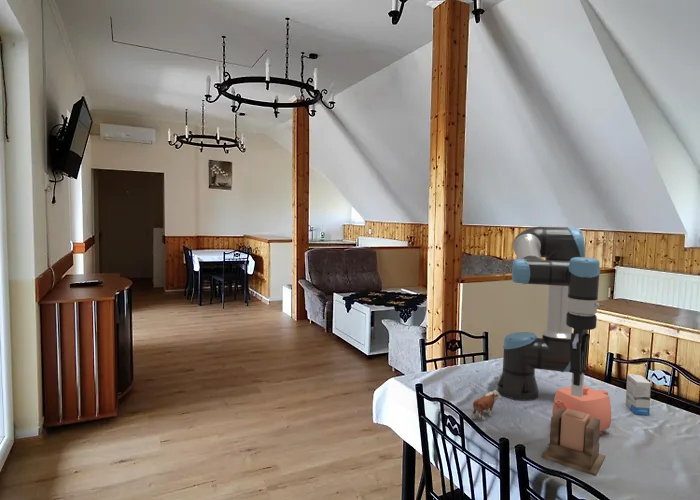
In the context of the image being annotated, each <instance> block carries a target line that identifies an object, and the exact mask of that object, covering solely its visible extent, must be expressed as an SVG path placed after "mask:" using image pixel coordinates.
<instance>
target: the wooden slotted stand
mask: <svg viewBox="0 0 700 500" xmlns="http://www.w3.org/2000/svg"><path fill="white" fill-rule="evenodd" d="M565 411H566V410H563V409H558V410H557V411H556V413H555V414H554V415H551V417H550V429H549V430H550V432H549V443H548V446H547V447H546V449H545V450H544V451H543V452H542V454H541V456H540V457H541V458H543V459H545V460H548V461H551V462H554V463H557V464H560V465H563V466H566V467H569V468H572V469H575V470H578V471H581V472H583V471H584V473H587V474H589V475H593V476H595V477H597V475H598V473H599V470H601V466H602V464H603V462H604V460H605V459H606V455H605V454H601V453H600V434H599V432H600V419H596V418H592V419H591V420H590V422H589V423H588V425H587V426H586V431H585V448H584V453H583V452H580V451H577V450H573V449H570V448H567V447H564V446H561V445H560V435H561V416H562V414H563V413H564V412H565Z"/></svg>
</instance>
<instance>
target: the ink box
mask: <svg viewBox="0 0 700 500" xmlns="http://www.w3.org/2000/svg"><path fill="white" fill-rule="evenodd" d="M651 385H652V384H651V382H650V381H649V380H648V379H646V377H644V376H642V375H641V374H631V373H628V374H626V390H625V393H626V394H625V406H626V407H627V408H628V409H629V410H630V411H632V413H634V415H641V416H642V415H643V416H650V405H651Z"/></svg>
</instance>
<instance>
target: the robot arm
mask: <svg viewBox="0 0 700 500" xmlns="http://www.w3.org/2000/svg"><path fill="white" fill-rule="evenodd" d="M512 250H513V252H514V254H515V255H516V258H515V259H514V260H513V261H512V267H511V268H512V272H511V280H512V282H513V283H516V284H522V285H542V286H543V285H544V286H548V297H547V298H548V301H547V322H546V324H547V326H546V327H547V328H546V330H544V332H542V334H541V335H542V336H541V337H538V336H537V334H536V333H533V332H529V331H518V332H517V331H516V332H515V331H514V332H512V333H508V334H506V335H505V337H504V338H503V340H504V341H503V345H502V348H503V358H502V372H501V374H500V377H499V380H498V381H497V385H496V391H497V392H498V393H499V394H500V396H501V395H502V396H503V397H505V398H508V399H513V400H518V401H532V400H535V399H538V398H539V392H540V389H539V386H538V383H537V379H536V375H535V372H536V370H543V371H552V372H553V371H554V372H560V373H571V385H570V387H571V395H574V396H578V397H582V396H583V385H584V379H585V374H587V373H588V369H586V368H587V364H588V363H587V361H588V351H589V343H590V339H591V335H590V334H591V333H589V331H592V330H594V329H597V319H598V318H597V312H598V308H599V307H600V303H599V302H598V298H599V284H600V283H599V282H600V274H601V269H600V268H601V267H600V265H601V263H600V260H599V259H597V258H594V257H585V256H586V255H585V254H586V253H585V252H586V245H585V237H584V235H583V232H582V230H581V229H580V228H579V227H578V228H577V227H572V226H571V227H570V226H564V227H563V226H533V227H530V228H527V229H525V230H522V231H520V233H518V234H517V235H516V236H515V237H514V239H513V242H512ZM543 258H545V259H543Z"/></svg>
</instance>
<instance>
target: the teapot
mask: <svg viewBox="0 0 700 500" xmlns="http://www.w3.org/2000/svg"><path fill="white" fill-rule="evenodd" d="M567 408H568V409H572V410H576V411H580V412H584V413H586V414H590V420H591V419H592V418H596V419H600V432H599V435H603V432H602V431H605V430H608V429H610V427H611V423H612V405H611V397H610V396H609V392H608V391H605V390H603V389H599V390H597V389H595V388H591V387H589V386H587V385H584V384H583V396H582V397H578V396H574V395H571V386H566V387H562V388H558V389H556V391H555V395H554V400H553V404H552V413H551V414H552V415H551V416H553V415H554V414H555V413H556V411H557V410H558V409H563V410H566V409H567ZM589 422H590V421H589Z"/></svg>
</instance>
